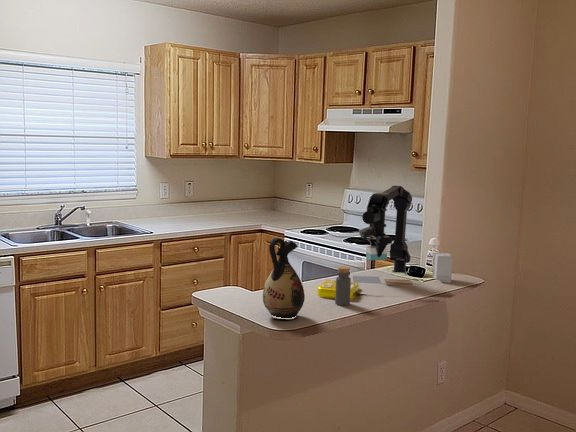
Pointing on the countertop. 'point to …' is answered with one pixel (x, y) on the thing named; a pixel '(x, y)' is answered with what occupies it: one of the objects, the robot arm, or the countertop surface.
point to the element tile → (329, 289)
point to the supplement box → (442, 267)
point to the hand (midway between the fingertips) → (376, 255)
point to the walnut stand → (399, 283)
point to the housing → (375, 253)
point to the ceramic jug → (283, 283)
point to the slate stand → (366, 279)
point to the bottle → (343, 286)
